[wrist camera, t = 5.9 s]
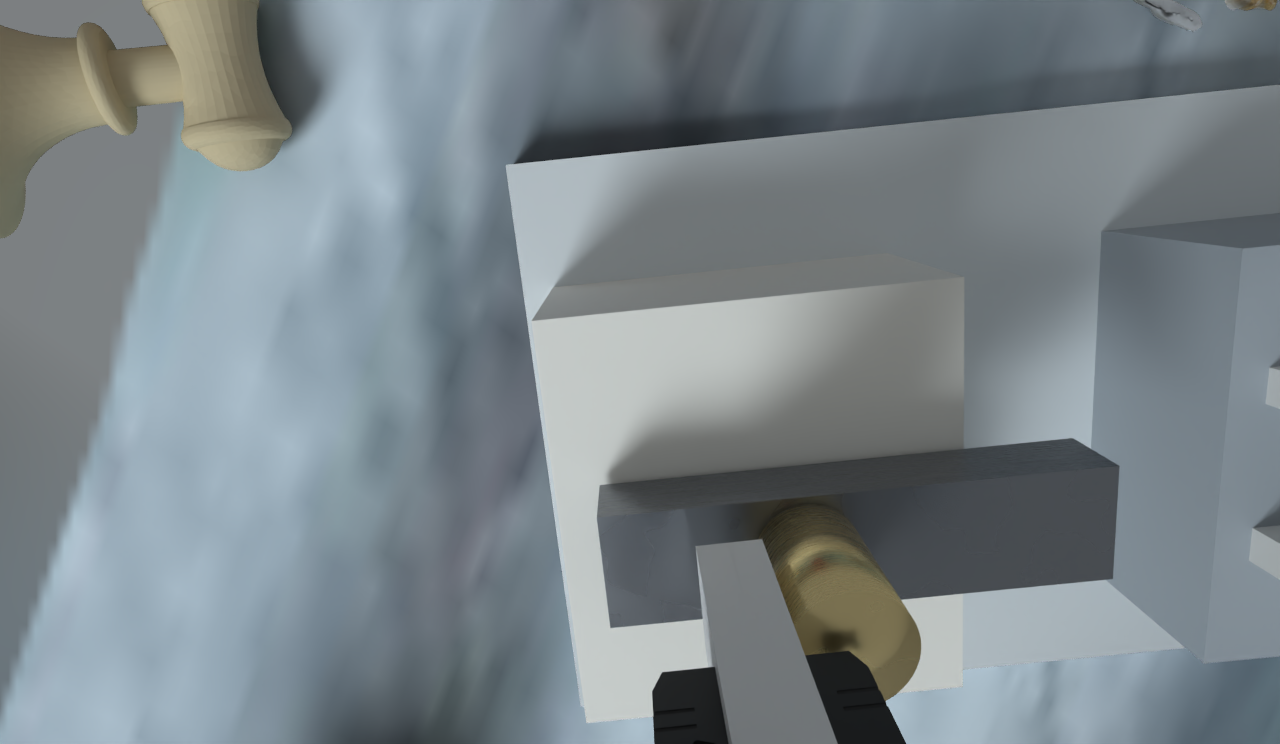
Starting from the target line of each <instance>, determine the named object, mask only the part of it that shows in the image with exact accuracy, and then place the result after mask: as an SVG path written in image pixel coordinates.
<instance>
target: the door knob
mask: <svg viewBox="0 0 1280 744" xmlns="http://www.w3.org/2000/svg"><path fill="white" fill-rule="evenodd" d="M142 5H143V7H144V9H145V10H146V12H147V13H148V14H149V15H150V16H152V18H153V20H154V21H155V22H156V24H157V26H158V27H159V29H160V30H161V33H162V34H163V36H164V39H165V41H166V44H167V45H161V46H150V47H139V48H129V49H119V50H117V49H116V47H115V45H114V44H113V42H112V40H111V39H110V38H109V36H108V35H107V33H106V32H105V31H104V30H103V29H102V28H101V27H100V26H98V25H96V24H94V23H89V22H88V23H84V24H82V25H81V26H80V27H79V29H78V32H77V38H57V37H46V36H39V35H33V34H29V33H25V32H20V31H17V30H14V29H10V28H7V27H4V26H1V25H0V238H5V237H7V236H9V235H11V234H12V233H13V232H14V231H15V230H16V229H17V227H18V225H19V223H20V221H21V219H22V216H23V211H24V206H25V191H26V190H25V181H26V178H27V176H28V174H29V172H30V170H31V168H32V167H33V166H34V164H35V163H36V162H37V160H38V159H39V158H40V157H41V156H42V155H43V154H44V153H45V152H46V151H47V150H49V149H50V148H51V147H53V146H54V145H55V144H57V143H58V142H60V141H62V140H63V139H65V138H67V137H69V136H71V135H73V134H75V133H77V132H80V131H83V130H86V129H89V128H93V127H98V126H103V125H109V126H110V127H111V128H112V129H113V130H114V131H115V132H116V133H118V134H120V135H130V134H132V133H133V132H134V131H135V129H136V126H137V109H136V107H137V106H146V105H155V104H163V103H172V102H181V101H183V105H184V128H183V130H182V133H181V139H182V141H183V143H184V145H185V146H186V147H188V148H189V149H191V150H194V151H199V152H200V153H201V154H202V155H203V156H205V157H206V158H207V159H208V160H209V161H211V162H213V163H214V164H216V165H217V166H220V167H222V168H225V169H229V170H234V171H248V170H254V169H257V168H260V167H262V166H265V165H266V164H268V163H269V162H270V161H271V160H273V159H274V158H275V156H276V155H277V153H278V152H279V150H280V147H281V145H282V142H283V141H285V140H287V139H288V138H289V137H290V136H291V134H292V126H291V124H290V122H289V121H288V119H286V118H285V117H284V115H283V113H282V111H281V109H280V108H279V106H278V104H277V102H276V100H275V98H274V96H273V94H272V92H271V90H270V87H269V84H268V81H267V79H266V76H265V73H264V70H263V66H262V62H261V58H260V53H259V46H258V40H257V10H258V8H259V0H142Z"/></svg>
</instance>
